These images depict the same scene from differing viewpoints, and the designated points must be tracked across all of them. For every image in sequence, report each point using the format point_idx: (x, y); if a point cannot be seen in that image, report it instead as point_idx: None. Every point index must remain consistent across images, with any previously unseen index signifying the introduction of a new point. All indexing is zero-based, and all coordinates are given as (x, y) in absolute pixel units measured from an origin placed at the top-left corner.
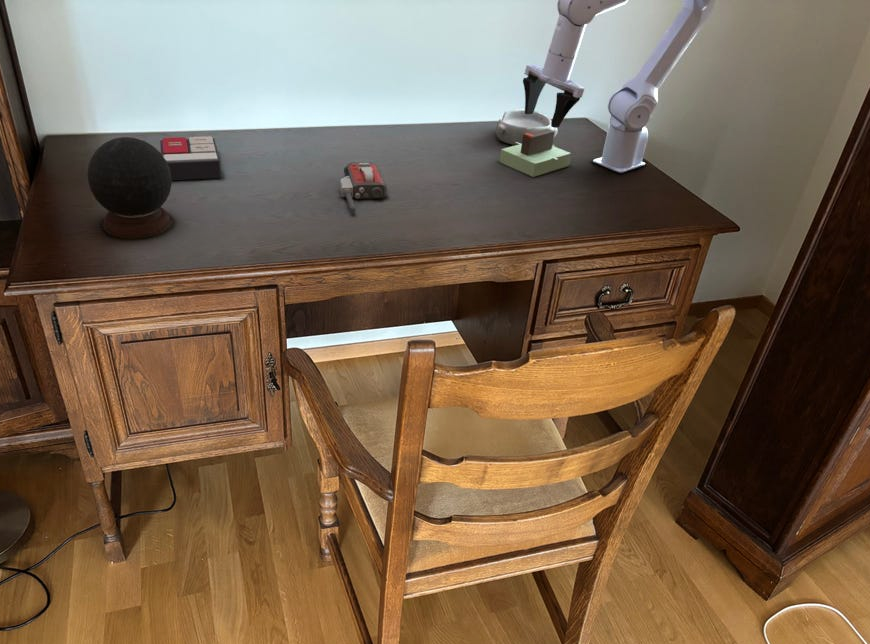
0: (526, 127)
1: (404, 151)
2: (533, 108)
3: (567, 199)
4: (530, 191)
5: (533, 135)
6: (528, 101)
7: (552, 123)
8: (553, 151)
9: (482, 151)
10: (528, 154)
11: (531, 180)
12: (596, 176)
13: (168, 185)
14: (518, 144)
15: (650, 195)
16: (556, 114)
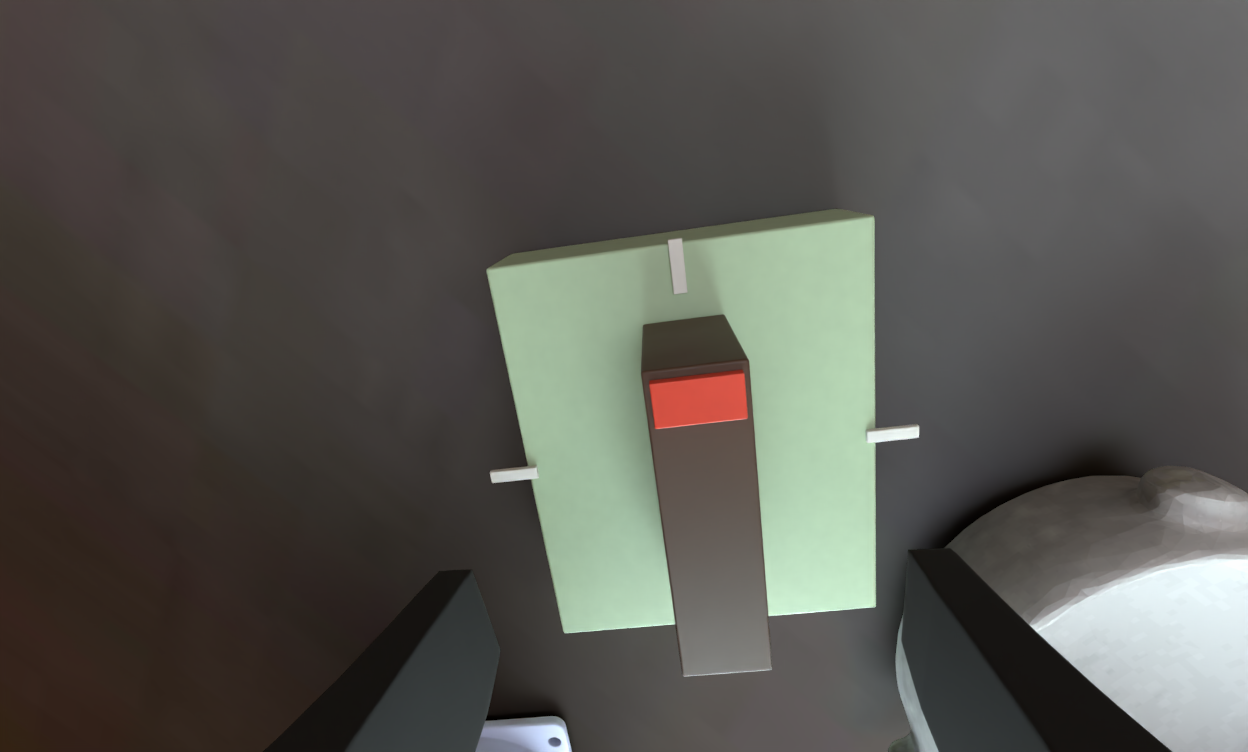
0: None
1: None
2: (930, 701)
3: (126, 217)
4: (301, 56)
5: (658, 423)
6: (1010, 697)
7: (435, 593)
8: (636, 556)
9: (1075, 230)
10: (642, 330)
11: (469, 205)
12: (393, 607)
13: None
14: (979, 519)
15: (105, 665)
16: (330, 706)
